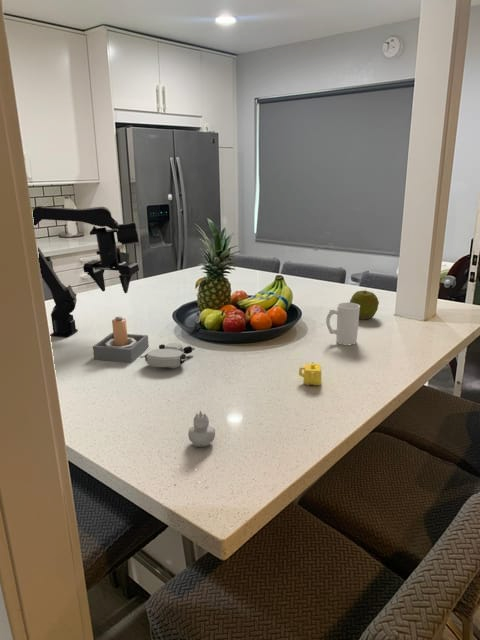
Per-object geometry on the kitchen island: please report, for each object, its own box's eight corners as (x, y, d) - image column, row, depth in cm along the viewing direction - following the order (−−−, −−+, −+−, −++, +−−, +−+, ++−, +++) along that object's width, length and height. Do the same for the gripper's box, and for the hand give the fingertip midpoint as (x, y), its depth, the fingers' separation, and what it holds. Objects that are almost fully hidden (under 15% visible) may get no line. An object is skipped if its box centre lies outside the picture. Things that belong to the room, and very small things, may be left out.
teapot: (299, 375, 130) (299, 357, 128) (320, 376, 129) (321, 358, 127) (298, 388, 122) (298, 369, 121) (321, 389, 121) (322, 371, 120)
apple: (346, 320, 173) (348, 290, 169) (351, 312, 181) (353, 284, 178) (375, 323, 169) (378, 293, 166) (378, 315, 178) (381, 286, 174)
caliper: (199, 331, 164) (199, 313, 162) (196, 331, 164) (195, 313, 162) (209, 313, 183) (209, 297, 181) (206, 312, 183) (206, 297, 181)
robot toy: (159, 353, 147) (139, 370, 133) (158, 339, 146) (138, 355, 132) (197, 356, 145) (181, 374, 131) (197, 342, 144) (181, 358, 129)
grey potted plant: (186, 451, 96) (185, 416, 94) (191, 433, 102) (189, 400, 100) (213, 452, 96) (212, 416, 93) (216, 434, 102) (215, 400, 100)
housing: (94, 359, 141) (92, 346, 140) (113, 344, 152) (112, 332, 151) (132, 362, 138) (130, 349, 137) (148, 347, 150) (147, 335, 148)
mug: (354, 338, 156) (357, 302, 152) (359, 345, 149) (362, 308, 146) (323, 338, 156) (325, 302, 152) (326, 345, 150) (328, 308, 146)
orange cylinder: (112, 352, 144) (109, 319, 140) (118, 346, 147) (115, 315, 144) (125, 353, 143) (122, 320, 139) (130, 347, 146) (128, 315, 143)
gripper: (145, 241, 160) (151, 286, 166) (100, 240, 167) (107, 283, 173) (125, 249, 151) (132, 297, 156) (78, 247, 158) (86, 293, 164)
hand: (114, 292), depth 163 cm, fingers open, 9 cm apart
